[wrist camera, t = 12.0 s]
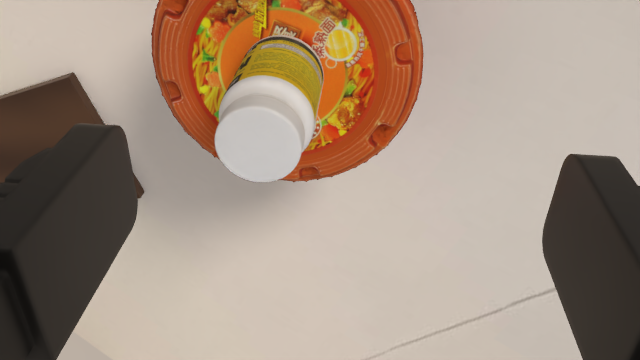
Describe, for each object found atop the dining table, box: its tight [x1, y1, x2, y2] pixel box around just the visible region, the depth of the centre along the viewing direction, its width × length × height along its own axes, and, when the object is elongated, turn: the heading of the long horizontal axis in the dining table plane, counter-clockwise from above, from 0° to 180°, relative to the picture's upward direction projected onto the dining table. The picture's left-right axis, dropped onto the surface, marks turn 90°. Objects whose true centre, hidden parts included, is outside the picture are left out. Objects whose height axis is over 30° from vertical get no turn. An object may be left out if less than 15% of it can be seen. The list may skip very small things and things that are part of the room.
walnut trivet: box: [0, 73, 144, 199], centre depth 49 cm, size 12×12×1 cm
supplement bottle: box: [214, 35, 324, 183], centre depth 29 cm, size 5×5×8 cm
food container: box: [151, 0, 423, 182], centre depth 37 cm, size 16×16×11 cm
